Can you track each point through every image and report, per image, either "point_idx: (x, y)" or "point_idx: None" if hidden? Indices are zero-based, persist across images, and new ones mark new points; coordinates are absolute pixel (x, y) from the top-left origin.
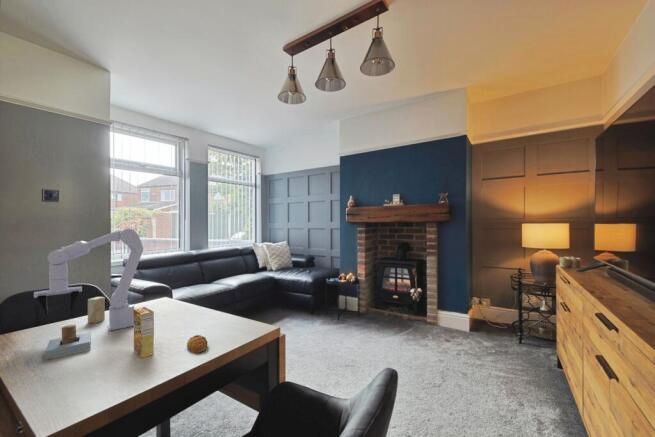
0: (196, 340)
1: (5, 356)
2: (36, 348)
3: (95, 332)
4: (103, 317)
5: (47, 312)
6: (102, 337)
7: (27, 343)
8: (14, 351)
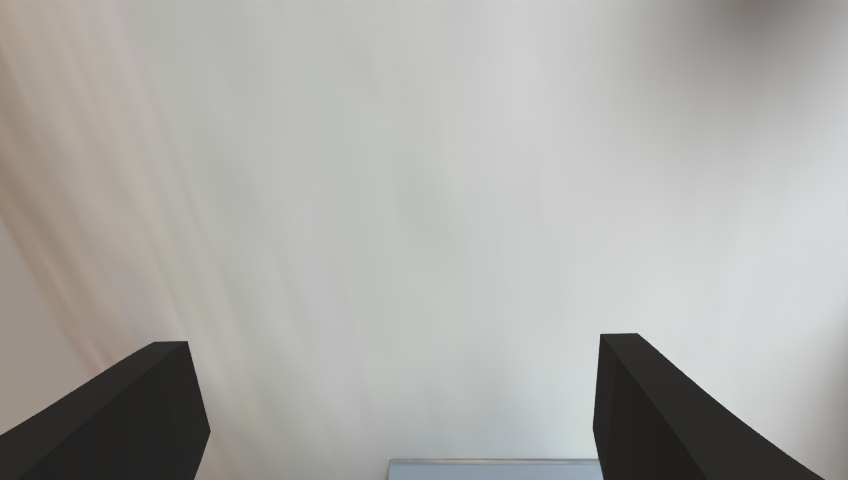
0: None
1: None
2: (288, 398)
3: (759, 273)
4: None
5: (190, 419)
6: None
7: (153, 196)
8: None
